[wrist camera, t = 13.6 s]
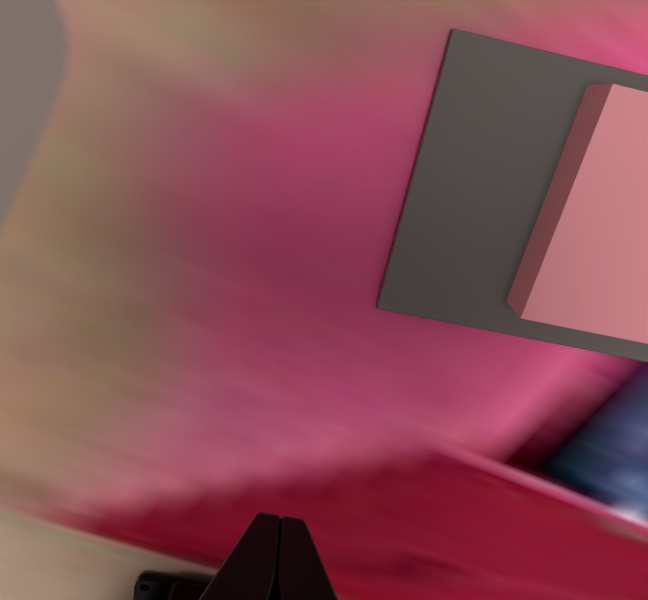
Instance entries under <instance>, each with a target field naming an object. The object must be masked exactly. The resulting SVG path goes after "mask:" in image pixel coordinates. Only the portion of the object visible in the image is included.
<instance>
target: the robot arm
mask: <svg viewBox="0 0 648 600" xmlns="http://www.w3.org/2000/svg"><path fill="white" fill-rule="evenodd" d="M133 600H338V599H337V596H336V594H335V592H334V589H333V587H332V584H331V582H330V580H329V577H328V575H327V572H326V570H325V568H324V565H323V563H322V560H321V558H320V556H319V553H318V551H317V549H316V546H315V544H314V541H313V539H312V537H311V534H310V532H309V529H308V527H307V525H306V522H305V521H304V520H303V519H302V518H297V517H291V516H282V517H281V519H280V516H279V515H278V514H273V513H266V512H258V513H257V514H256V515H255V516H254V518H253V519H252V521H251V522H250V524H249V525H248V527H247V528H246V530H245V531H244V533H243V534H242V536H241V537H240V539H239V540H238V542H237V543H236V545H235V546H234V548H233V549H232V551H231V552H230V554H229V555H228V557H227V558H226V560H225V561H224V563H223V564H222V566H221V567H220V569H219V570H218V572H217V573H216V575H215V576H214V578H213V579H212V581H211V582H210V583H206V582H199V581H193V580H186V579H179V578H173V577H166V576H160V575H153V574H142V575H140V576H139V577H138V579H137V582H136V584H135V589H134V599H133Z"/></svg>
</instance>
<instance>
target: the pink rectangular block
mask: <svg viewBox="0 0 648 600" xmlns="http://www.w3.org/2000/svg"><path fill="white" fill-rule="evenodd" d="M506 302H507V303H508V304H509V305H510V307H511V308H512V309H513V310H514V311H515V312H516V313H517V315H518V316H519V317H520V318H522V319H527V320H532V321H537V322H542V323H547V324H552V325H557V326H562V327H567V328H572V329H577V330H582V331H587V332H592V333H597V334H602V335H607V336H612V337H617V338H622V339H627V340H632V341H637V342H642V343H647V344H648V92H645V91H641V90H637V89H633V88H629V87H624V86H620V85H616V84H590V85H587V88H586V90H585V93H584V96H583V98H582V101H581V104H580V106H579V109H578V112H577V114H576V117H575V120H574V122H573V125H572V128H571V130H570V133H569V136H568V138H567V141H566V144H565V146H564V149H563V152H562V154H561V157H560V160H559V162H558V165H557V168H556V170H555V173H554V176H553V178H552V181H551V184H550V186H549V189H548V191H547V194H546V197H545V199H544V202H543V205H542V207H541V210H540V213H539V215H538V218H537V221H536V223H535V226H534V229H533V231H532V234H531V237H530V239H529V242H528V245H527V247H526V250H525V253H524V255H523V258H522V261H521V263H520V266H519V269H518V271H517V274H516V277H515V279H514V282H513V285H512V287H511V290H510V293H509V295H508V298H507V300H506Z"/></svg>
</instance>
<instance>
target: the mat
mask: <svg viewBox="0 0 648 600" xmlns="http://www.w3.org/2000/svg"><path fill="white" fill-rule="evenodd" d="M590 84H616V85H620V86H624V87H629V88H633V89H637V90H641V91H645V92H648V76H646V75H642V74H638V73H634V72H630V71H626V70H621V69H617V68H613V67H609V66H605V65H601V64H597V63H593V62H589V61H584V60H580V59H576V58H572V57H568V56H564V55H560V54H556V53H552V52H548V51H543V50H539V49H535V48H531V47H527V46H523V45H519V44H515V43H511V42H506V41H502V40H498V39H494V38H490V37H486V36H482V35H478V34H474V33H470V32H465V31H461V30H457V29H452V30H451V32H450V36H449V39H448V43H447V47H446V50H445V54H444V58H443V61H442V65H441V69H440V72H439V76H438V80H437V83H436V87H435V91H434V94H433V98H432V102H431V105H430V109H429V113H428V116H427V120H426V124H425V127H424V131H423V135H422V138H421V142H420V146H419V149H418V153H417V157H416V160H415V164H414V168H413V172H412V175H411V179H410V183H409V186H408V190H407V194H406V197H405V201H404V205H403V208H402V212H401V216H400V219H399V223H398V227H397V230H396V234H395V238H394V241H393V245H392V249H391V252H390V256H389V260H388V263H387V267H386V271H385V274H384V278H383V282H382V285H381V289H380V293H379V296H378V300H377V304H376V305H377V309H382V310H387V311H393V312H398V313H403V314H408V315H413V316H418V317H423V318H428V319H433V320H438V321H443V322H448V323H453V324H458V325H463V326H468V327H474V328H479V329H484V330H489V331H494V332H499V333H504V334H509V335H514V336H519V337H524V338H529V339H534V340H539V341H544V342H550V343H555V344H560V345H565V346H570V347H575V348H580V349H585V350H590V351H595V352H600V353H605V354H610V355H615V356H620V357H626V358H631V359H636V360H641V361H646V362H648V344H647V343H642V342H637V341H632V340H627V339H622V338H617V337H612V336H607V335H602V334H597V333H592V332H587V331H582V330H577V329H572V328H567V327H562V326H557V325H552V324H547V323H542V322H537V321H532V320H527V319H522V318H520V317H519V316H518V315H517V313H516V312H515V311H514V310H513V309H512V308H511V307H510V305H509V304H508V303H507V302H506V300H507V298H508V295H509V293H510V290H511V287H512V285H513V282H514V279H515V277H516V274H517V271H518V269H519V266H520V263H521V261H522V258H523V255H524V253H525V250H526V247H527V245H528V242H529V239H530V237H531V234H532V231H533V229H534V226H535V223H536V221H537V218H538V215H539V213H540V210H541V207H542V205H543V202H544V199H545V197H546V194H547V191H548V189H549V186H550V184H551V181H552V178H553V176H554V173H555V170H556V168H557V165H558V162H559V160H560V157H561V154H562V152H563V149H564V146H565V144H566V141H567V138H568V136H569V133H570V130H571V128H572V125H573V122H574V120H575V117H576V114H577V112H578V109H579V106H580V104H581V101H582V98H583V96H584V93H585V90H586V88H587V85H590Z"/></svg>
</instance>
